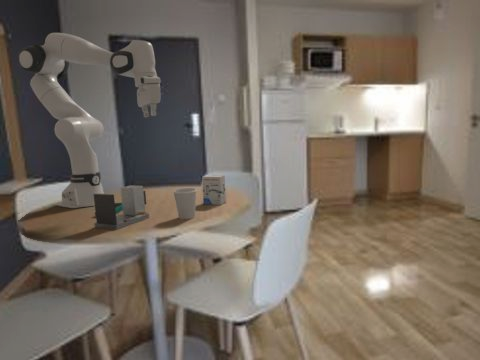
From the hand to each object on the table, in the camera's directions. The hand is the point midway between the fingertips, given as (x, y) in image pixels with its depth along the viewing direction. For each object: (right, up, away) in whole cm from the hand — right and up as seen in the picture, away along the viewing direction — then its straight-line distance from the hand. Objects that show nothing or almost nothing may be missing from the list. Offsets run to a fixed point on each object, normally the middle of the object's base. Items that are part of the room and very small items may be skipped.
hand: (150, 116), depth 148 cm
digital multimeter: (-15, -40, -3) cm, 42 cm away
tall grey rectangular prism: (0, -38, -15) cm, 41 cm away
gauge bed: (-5, -41, -20) cm, 46 cm away
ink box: (+26, -36, +3) cm, 45 cm away
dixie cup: (+18, -40, -18) cm, 47 cm away
